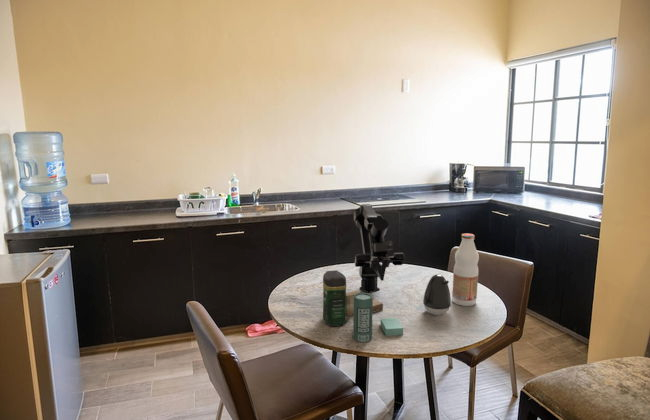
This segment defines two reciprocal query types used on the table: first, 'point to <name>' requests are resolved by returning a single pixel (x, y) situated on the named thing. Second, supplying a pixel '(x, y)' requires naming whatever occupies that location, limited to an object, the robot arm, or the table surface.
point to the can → (362, 317)
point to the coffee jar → (334, 298)
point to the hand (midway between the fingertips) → (382, 280)
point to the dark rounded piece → (437, 295)
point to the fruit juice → (465, 272)
